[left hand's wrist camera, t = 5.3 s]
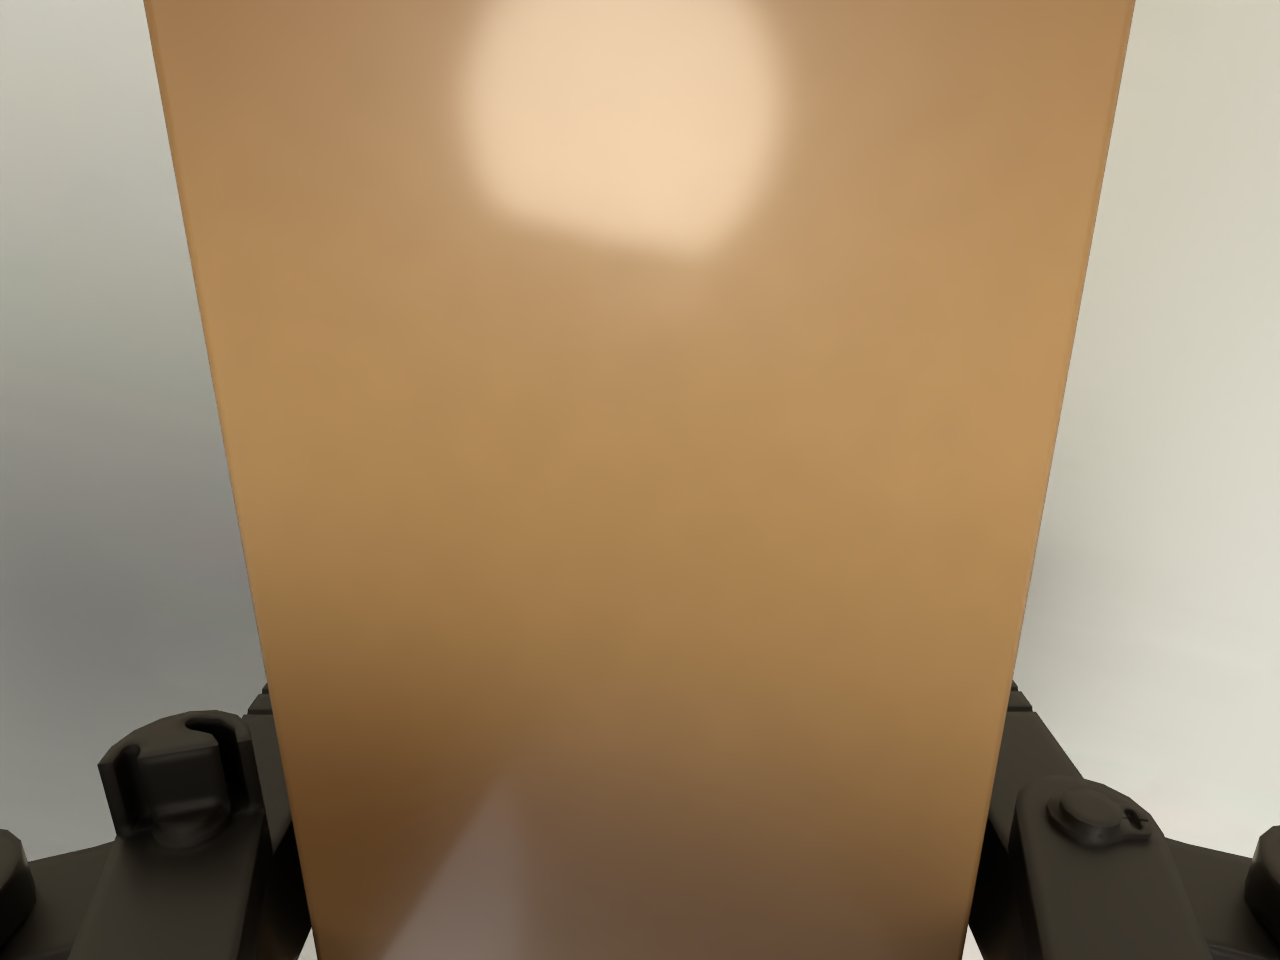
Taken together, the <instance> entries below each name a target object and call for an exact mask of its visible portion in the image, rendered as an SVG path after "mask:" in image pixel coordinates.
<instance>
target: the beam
mask: <svg viewBox="0 0 1280 960" xmlns="http://www.w3.org/2000/svg"><path fill="white" fill-rule="evenodd" d="M143 1H144V6H145V12H146V17H147V23H148V28H149V34H150V39H151V45H152V50H153V56H154V61H155V67H156V72H157V78H158V83H159V89H160V94H161V100H162V105H163V111H164V116H165V122H166V127H167V133H168V138H169V144H170V149H171V155H172V160H173V166H174V171H175V177H176V182H177V188H178V193H179V199H180V204H181V210H182V215H183V221H184V226H185V232H186V237H187V243H188V248H189V254H190V259H191V265H192V270H193V276H194V281H195V287H196V292H197V298H198V303H199V309H200V314H201V320H202V326H203V331H204V337H205V342H206V348H207V353H208V359H209V364H210V370H211V375H212V381H213V386H214V392H215V397H216V403H217V408H218V414H219V419H220V425H221V430H222V436H223V441H224V447H225V452H226V458H227V463H228V469H229V474H230V480H231V485H232V491H233V496H234V502H235V507H236V513H237V518H238V524H239V529H240V535H241V540H242V546H243V551H244V557H245V562H246V568H247V573H248V579H249V584H250V590H251V595H252V601H253V606H254V612H255V617H256V623H257V628H258V634H259V639H260V645H261V650H262V656H263V661H264V667H265V672H266V678H267V683H268V689H269V694H270V700H271V706H272V711H273V717H274V722H275V728H276V733H277V739H278V744H279V750H280V755H281V761H282V766H283V772H284V777H285V783H286V788H287V794H288V799H289V805H290V810H291V816H292V821H293V827H294V832H295V838H296V843H297V849H298V854H299V860H300V865H301V871H302V876H303V882H304V887H305V893H306V898H307V904H308V909H309V915H310V920H311V926H312V931H313V937H314V942H315V948H316V953H317V959H318V960H962V955H963V949H964V944H965V938H966V933H967V927H968V922H969V916H970V911H971V905H972V900H973V894H974V889H975V883H976V878H977V872H978V867H979V861H980V856H981V850H982V844H983V839H984V833H985V828H986V822H987V817H988V811H989V806H990V800H991V795H992V789H993V784H994V778H995V773H996V767H997V762H998V756H999V751H1000V745H1001V740H1002V734H1003V729H1004V723H1005V718H1006V712H1007V706H1008V701H1009V695H1010V690H1011V684H1012V679H1013V673H1014V668H1015V662H1016V657H1017V651H1018V646H1019V640H1020V635H1021V629H1022V624H1023V618H1024V613H1025V607H1026V602H1027V596H1028V591H1029V585H1030V580H1031V574H1032V568H1033V563H1034V557H1035V552H1036V546H1037V541H1038V535H1039V530H1040V524H1041V519H1042V513H1043V508H1044V502H1045V497H1046V491H1047V486H1048V480H1049V475H1050V469H1051V464H1052V458H1053V453H1054V447H1055V441H1056V436H1057V430H1058V425H1059V419H1060V414H1061V408H1062V403H1063V397H1064V392H1065V386H1066V381H1067V375H1068V370H1069V364H1070V359H1071V353H1072V348H1073V342H1074V337H1075V331H1076V326H1077V320H1078V315H1079V309H1080V303H1081V298H1082V292H1083V287H1084V281H1085V276H1086V270H1087V265H1088V259H1089V254H1090V248H1091V243H1092V237H1093V232H1094V226H1095V221H1096V215H1097V210H1098V204H1099V199H1100V193H1101V188H1102V182H1103V177H1104V171H1105V165H1106V160H1107V154H1108V149H1109V143H1110V138H1111V132H1112V127H1113V121H1114V116H1115V110H1116V105H1117V99H1118V94H1119V88H1120V83H1121V77H1122V72H1123V66H1124V61H1125V55H1126V50H1127V44H1128V38H1129V33H1130V27H1131V22H1132V16H1133V11H1134V5H1135V0H143Z"/></svg>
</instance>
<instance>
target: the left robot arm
mask: <svg viewBox="0 0 1280 960" xmlns="http://www.w3.org/2000/svg"><path fill="white" fill-rule="evenodd" d="M98 769H99V772H100V776H101V780H102V783H103V787H104V790H105V794H106V798H107V801H108V805H109V809H110V812H111V816H112V820H113V823H114V827H115V830H116V834H117V835H116V838H115V841H113V842H109V843H106V844H103V845H99V846H96V847H92V848H88V849H83V850H79V851H74V852H70V853H66V854H61V855H57V856H52V857H48V858H44V859H39V860H35V861H30V862H28V861H27V858H26V855H25V852H24V849H23V846H22V843H21V840H19V839H18V838H17V837H16V836H14V835H13V834H12V833H11V832H9V831H8V830H3V829H0V960H298V958H299V955H300V953H301V951H302V948H303V946H304V943H305V941H306V939H307V936H308V934H309V932H310V929H311V927H312V926H311V920H310V915H309V909H308V904H307V898H306V893H305V887H304V882H303V876H302V871H301V865H300V860H299V854H298V849H297V843H296V838H295V832H294V827H293V821H292V816H291V810H290V805H289V799H288V794H287V788H286V783H285V777H284V772H283V766H282V761H281V755H280V750H279V744H278V739H277V733H276V728H275V722H274V717H273V711H272V706H271V700H270V694H269V689H268V683H266V685H265V686H264V688H263V689H262V694H259V695H258V696H257V697H256V699H255V700H254V702H253V703H252V705H251V706H250V707H249V709H248V714H247V715H244V716H243V717H242V719H241V718H240V717H239V716H238V715H235V714H231V713H226V712H222V711H218V710H209V711H190V712H186V713H181V714H177V715H173V716H169V717H165V718H161V719H159V720H157V721H155V722H152V723H150V724H148V725H146V726H143V727H141V728H139V729H137V730H134V731H133V732H131V733H130V734H129V735H127V736H126V737H124V738H123V739H122V740H120V741H119V742H117V743H116V744H115V745H113V746H112V747H111V748H110V749H109V750H108V752H107V753H106V754H105V756H104V757H103V758H102V759H101V761H100V762H99V763H98ZM968 924H969V927H970V929H971V931H972V934H973V936H974V938H975V941H976V943H977V945H978V947H979V950H980V952H981V954H982V957H983V959H984V960H1280V825H1279V826H1273V827H1271V828H1270V829H1269V830H1268V831H1266V832H1265V833H1264V834H1263V835H1261V836H1260V838H1259V841H1258V844H1257V847H1256V850H1255V853H1254V856H1253V859H1252V858H1248V857H1243V856H1239V855H1235V854H1230V853H1226V852H1221V851H1217V850H1212V849H1208V848H1203V847H1199V846H1195V845H1190V844H1186V843H1183V842H1179V841H1176V840H1172V839H1169V838H1166V837H1165V836H1164V834H1163V832H1162V831H1161V829H1160V828H1159V826H1158V825H1157V824H1156V822H1155V821H1154V819H1153V818H1152V816H1151V815H1150V814H1149V813H1148V812H1147V811H1145V810H1144V809H1143V808H1142V807H1141V806H1139V805H1138V804H1137V803H1136V802H1134V801H1133V800H1132V799H1131V798H1129V797H1128V796H1126V795H1124V794H1122V793H1120V792H1118V791H1116V790H1114V789H1112V788H1110V787H1108V786H1106V785H1104V784H1101V783H1097V782H1094V781H1090V780H1087V779H1084V778H1083V777H1082V775H1081V774H1080V773H1079V771H1078V770H1077V768H1076V767H1075V766H1074V764H1073V763H1072V762H1071V760H1070V759H1069V757H1068V756H1067V755H1066V753H1065V752H1064V750H1063V749H1062V748H1061V746H1060V745H1059V743H1058V742H1057V741H1056V739H1055V738H1054V736H1053V735H1052V734H1051V732H1050V731H1049V729H1048V728H1047V727H1046V725H1045V724H1044V723H1043V721H1042V720H1041V718H1040V717H1039V716H1038V714H1037V713H1036V712H1033V711H1032V706H1031V704H1030V703H1029V702H1028V700H1027V699H1026V697H1025V696H1024V695H1023V693H1022V692H1021V691H1018V686H1017V685H1016V684H1015V682H1014V681H1013V679H1012V684H1011V690H1010V695H1009V701H1008V706H1007V712H1006V718H1005V723H1004V729H1003V734H1002V740H1001V745H1000V751H999V756H998V762H997V767H996V773H995V778H994V784H993V789H992V795H991V800H990V806H989V811H988V817H987V822H986V828H985V833H984V839H983V844H982V850H981V856H980V861H979V867H978V872H977V878H976V883H975V889H974V894H973V900H972V905H971V911H970V916H969V922H968Z"/></svg>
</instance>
